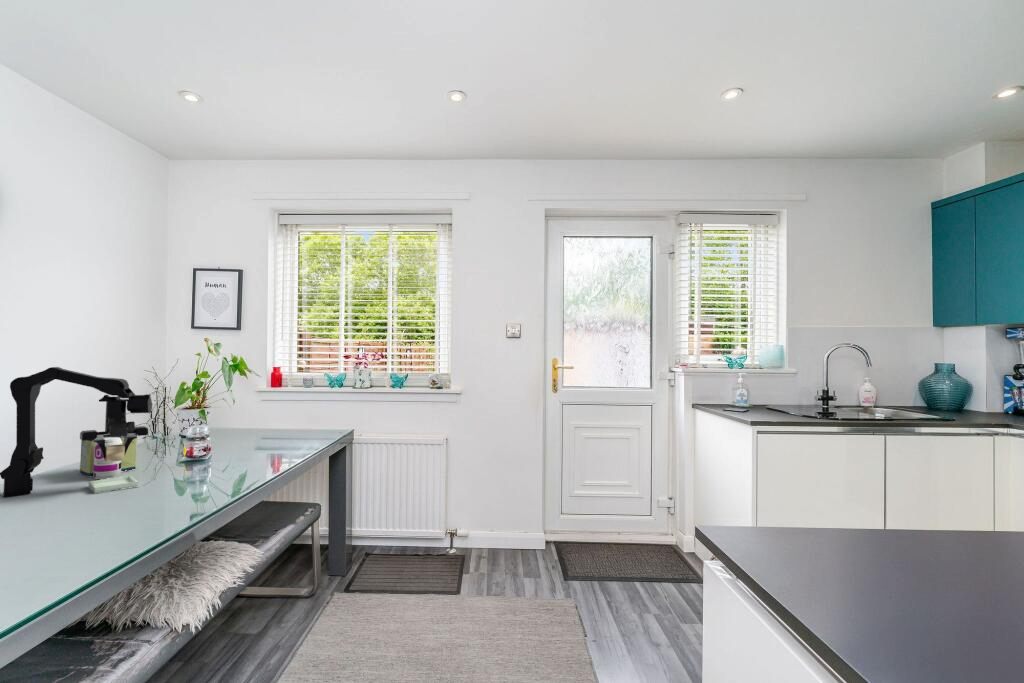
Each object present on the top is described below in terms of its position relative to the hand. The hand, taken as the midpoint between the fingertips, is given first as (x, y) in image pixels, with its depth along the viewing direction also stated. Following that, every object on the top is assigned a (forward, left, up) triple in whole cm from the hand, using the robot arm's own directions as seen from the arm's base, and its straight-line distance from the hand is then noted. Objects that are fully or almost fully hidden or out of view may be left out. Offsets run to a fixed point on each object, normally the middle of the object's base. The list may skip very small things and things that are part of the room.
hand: (114, 457), depth 177 cm
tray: (0, 0, -11) cm, 11 cm away
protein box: (+3, +29, -11) cm, 31 cm away
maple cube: (0, 0, -1) cm, 1 cm away
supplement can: (+1, +18, -11) cm, 21 cm away
